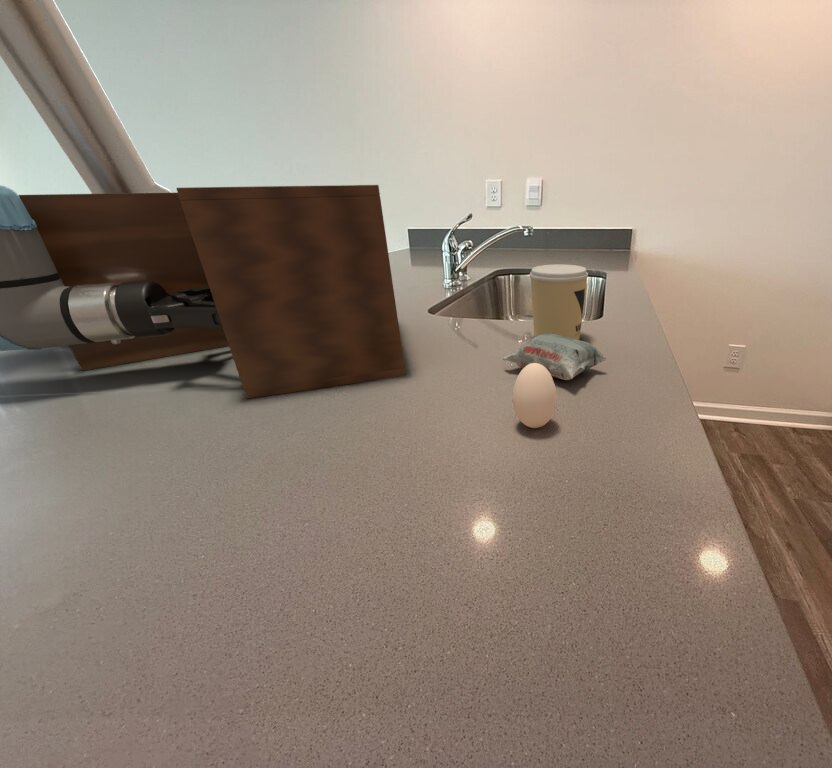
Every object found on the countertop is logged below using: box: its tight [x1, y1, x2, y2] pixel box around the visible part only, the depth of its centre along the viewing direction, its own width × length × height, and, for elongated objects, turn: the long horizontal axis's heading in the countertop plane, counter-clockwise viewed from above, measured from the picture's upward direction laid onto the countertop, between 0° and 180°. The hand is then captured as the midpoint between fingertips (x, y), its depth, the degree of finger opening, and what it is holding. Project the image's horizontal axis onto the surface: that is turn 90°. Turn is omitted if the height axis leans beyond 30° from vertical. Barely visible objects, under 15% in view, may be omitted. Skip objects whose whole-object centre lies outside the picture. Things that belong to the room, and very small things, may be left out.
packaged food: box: [502, 334, 607, 381], centre depth 57 cm, size 9×12×5 cm
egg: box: [512, 363, 558, 429], centre depth 43 cm, size 5×5×7 cm
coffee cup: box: [529, 263, 589, 340], centre depth 68 cm, size 9×9×12 cm
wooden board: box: [175, 184, 407, 399], centre depth 61 cm, size 20×26×24 cm
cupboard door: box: [18, 192, 229, 372], centre depth 65 cm, size 7×26×24 cm, turn 123°
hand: (300, 296), depth 61 cm, fingers open, 13 cm apart
